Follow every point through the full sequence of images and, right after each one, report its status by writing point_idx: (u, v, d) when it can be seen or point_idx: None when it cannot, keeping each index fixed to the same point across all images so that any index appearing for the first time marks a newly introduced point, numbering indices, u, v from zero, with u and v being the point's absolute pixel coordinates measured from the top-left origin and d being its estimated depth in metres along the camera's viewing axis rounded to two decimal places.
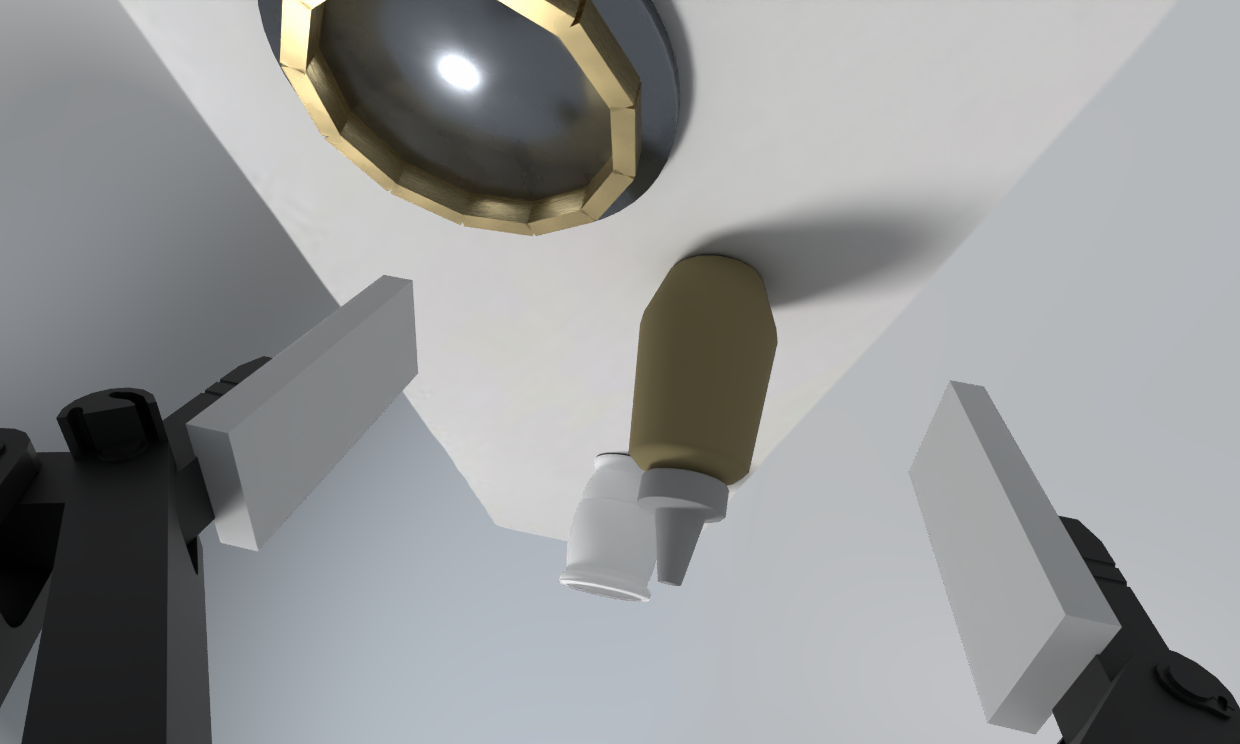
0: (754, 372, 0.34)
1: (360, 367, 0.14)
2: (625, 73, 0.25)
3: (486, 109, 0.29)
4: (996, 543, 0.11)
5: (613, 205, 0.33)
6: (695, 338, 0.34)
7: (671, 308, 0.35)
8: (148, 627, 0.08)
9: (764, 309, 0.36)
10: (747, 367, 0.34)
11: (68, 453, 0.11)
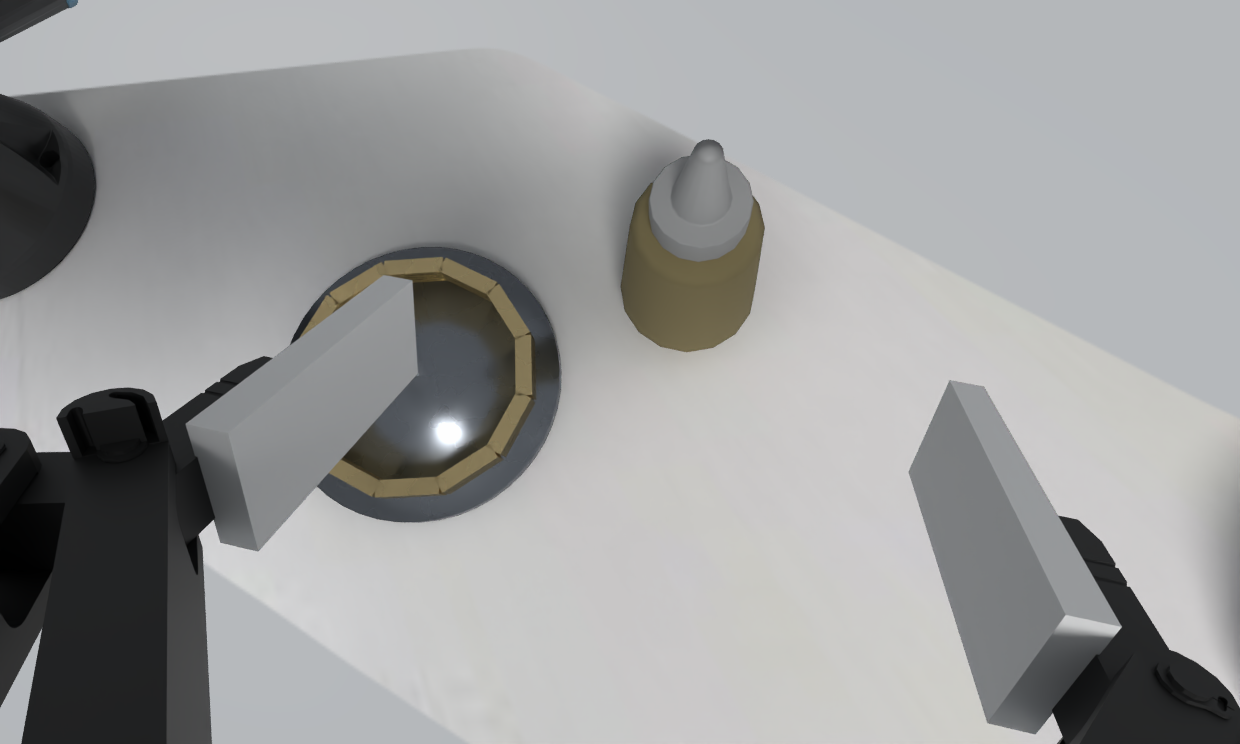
0: None
1: (360, 367, 0.14)
2: None
3: (429, 375, 0.41)
4: (996, 543, 0.11)
5: (545, 335, 0.41)
6: None
7: (623, 292, 0.38)
8: (147, 626, 0.08)
9: None
10: None
11: (68, 453, 0.11)
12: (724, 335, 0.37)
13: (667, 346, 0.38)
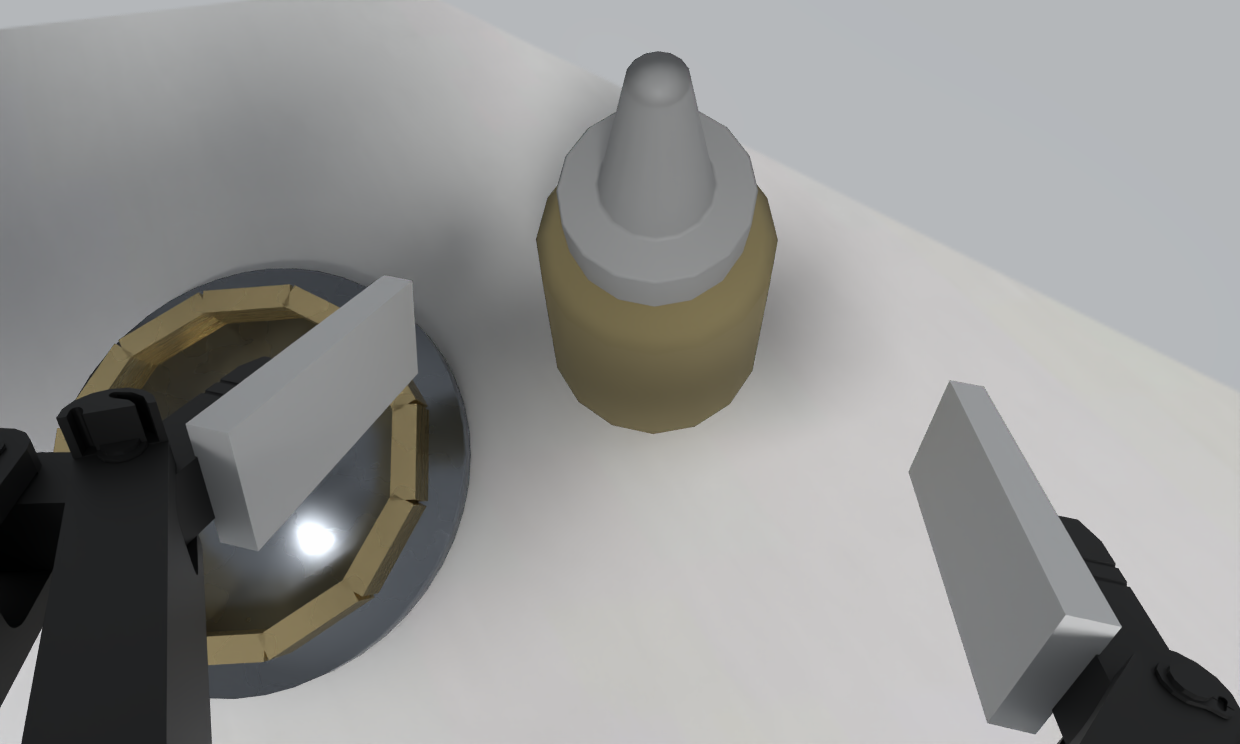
0: None
1: (360, 367, 0.14)
2: None
3: None
4: (996, 543, 0.11)
5: (445, 400, 0.28)
6: None
7: None
8: (148, 626, 0.08)
9: None
10: None
11: (68, 453, 0.11)
12: (711, 409, 0.23)
13: (622, 425, 0.24)
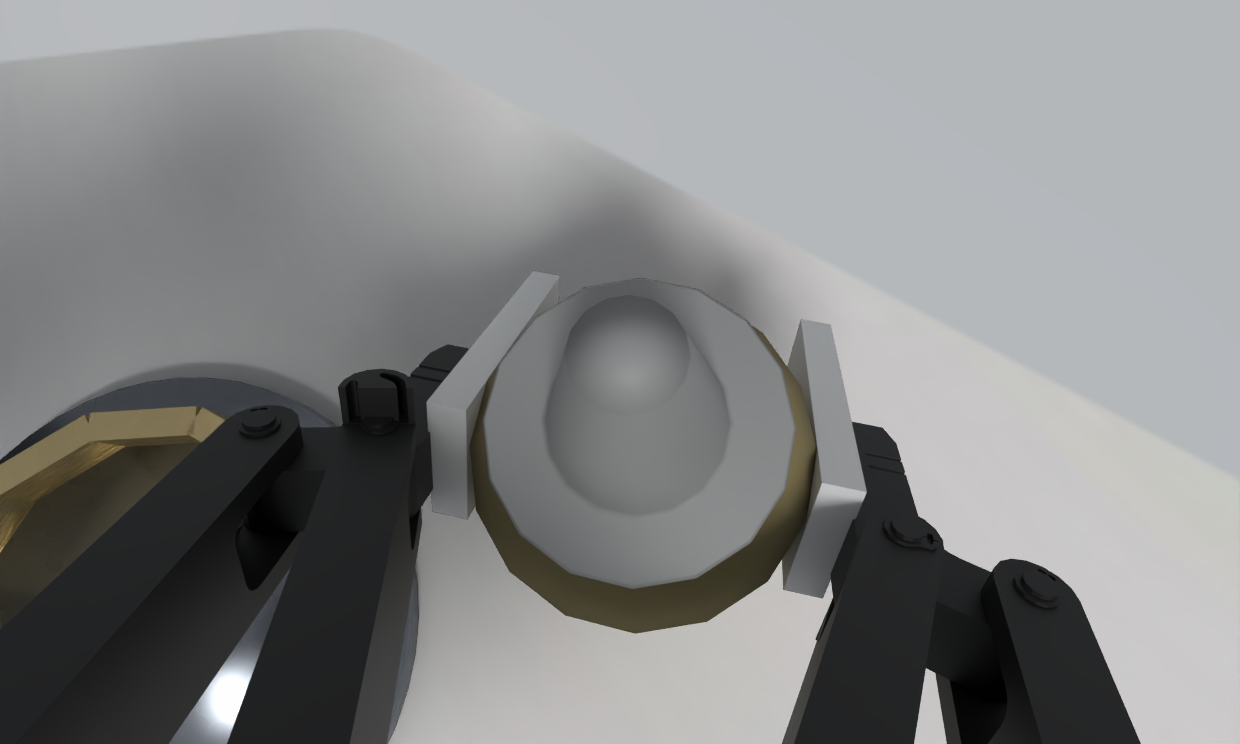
0: None
1: None
2: None
3: None
4: None
5: None
6: None
7: None
8: (364, 598, 0.08)
9: None
10: None
11: (319, 428, 0.12)
12: None
13: None
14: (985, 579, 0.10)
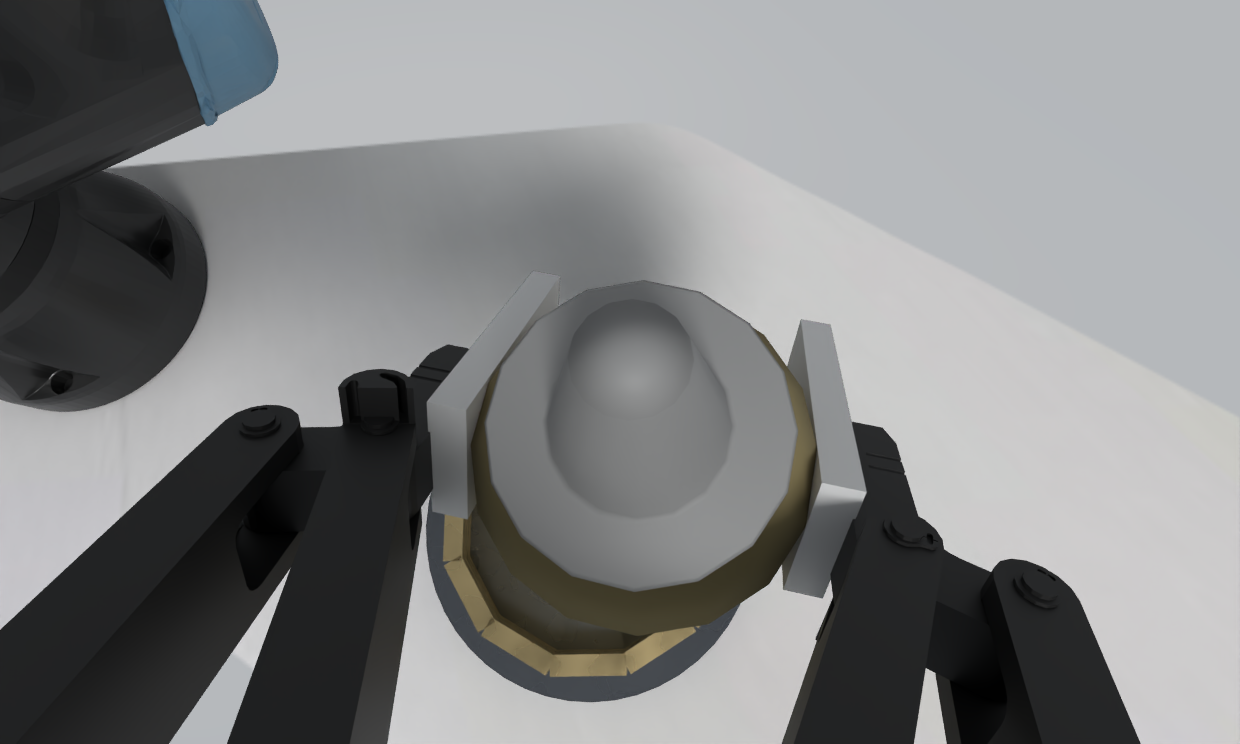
0: None
1: None
2: None
3: None
4: None
5: None
6: None
7: None
8: (364, 598, 0.08)
9: None
10: None
11: (320, 428, 0.12)
12: None
13: None
14: (985, 579, 0.10)
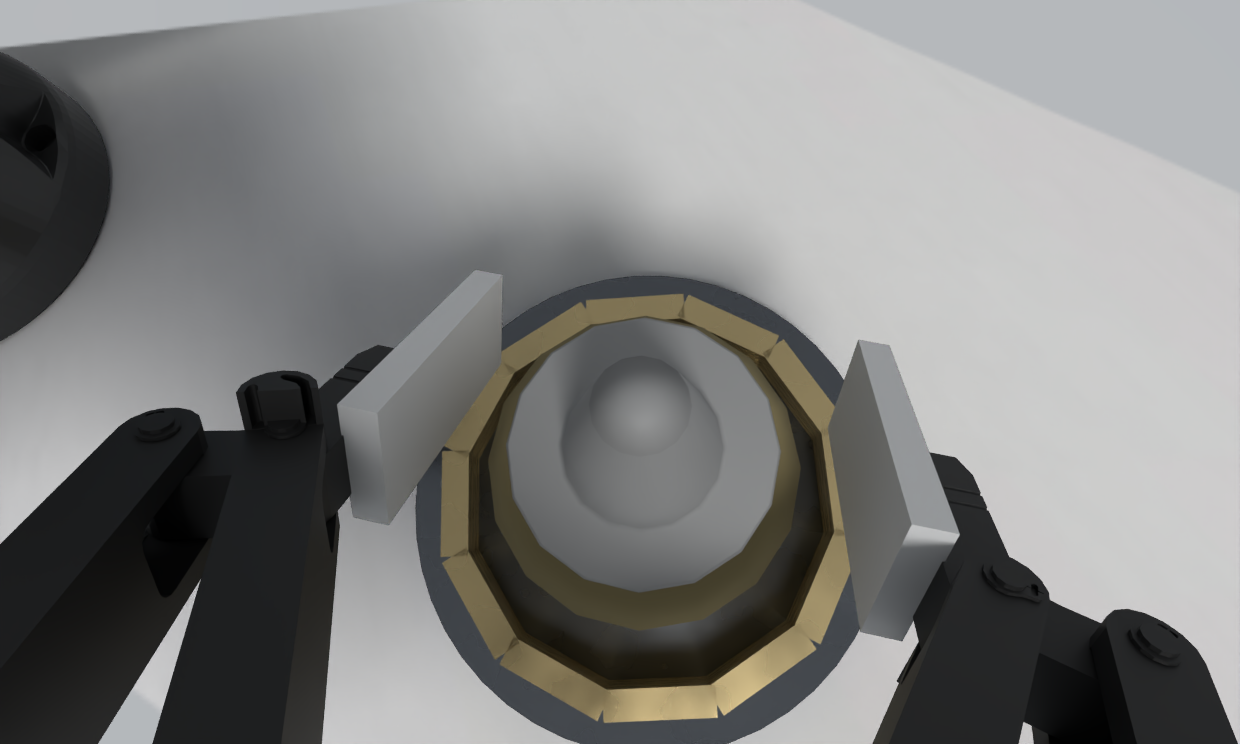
0: None
1: (464, 356, 0.15)
2: None
3: None
4: (876, 475, 0.13)
5: None
6: None
7: None
8: (282, 602, 0.08)
9: None
10: None
11: (228, 431, 0.11)
12: None
13: None
14: (1095, 628, 0.10)
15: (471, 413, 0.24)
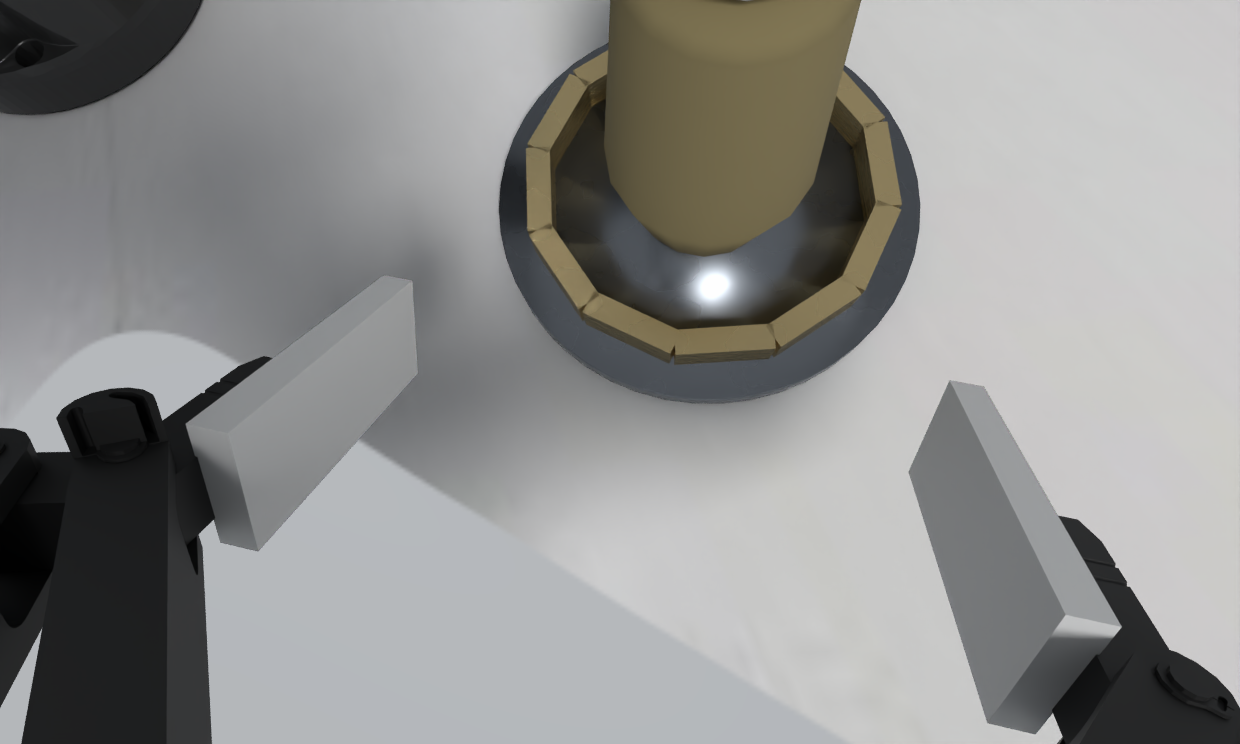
0: None
1: (360, 367, 0.14)
2: None
3: None
4: (996, 543, 0.11)
5: (889, 134, 0.28)
6: None
7: (607, 151, 0.24)
8: (147, 627, 0.08)
9: None
10: None
11: (68, 452, 0.11)
12: (774, 212, 0.22)
13: (679, 235, 0.23)
14: None
15: (551, 118, 0.27)
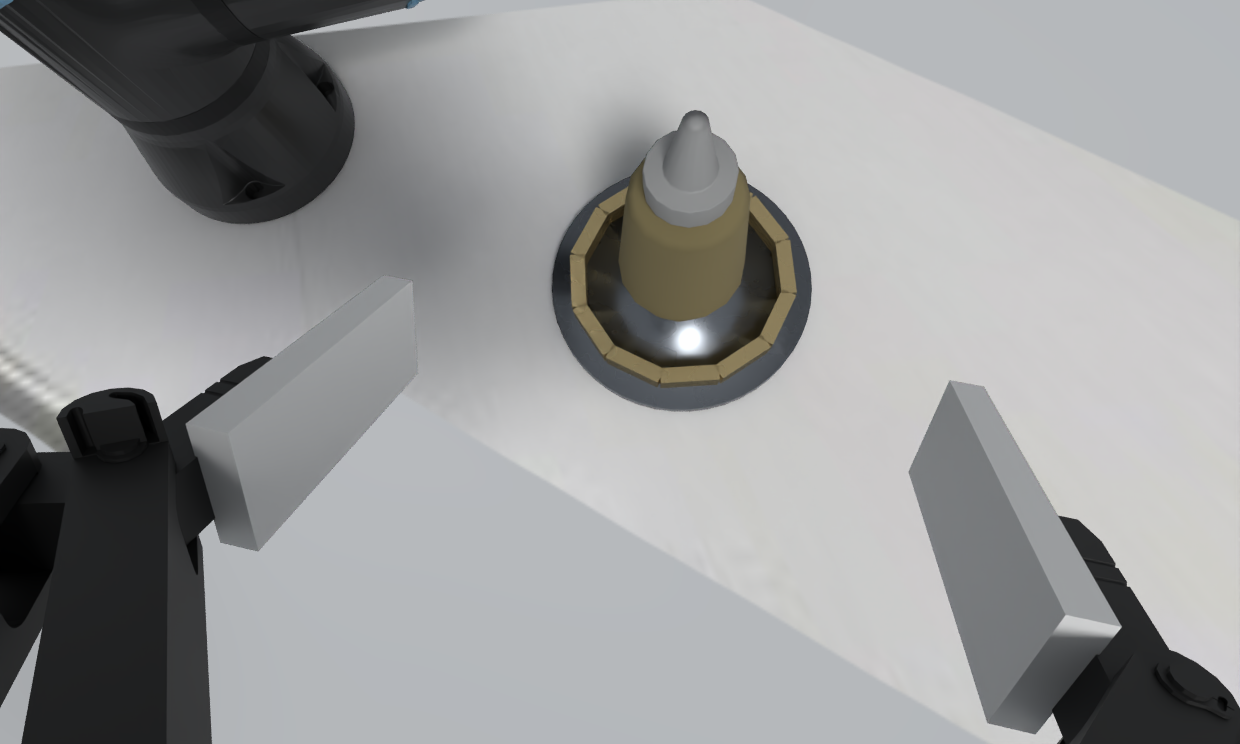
0: None
1: (360, 367, 0.14)
2: None
3: None
4: (996, 543, 0.11)
5: (794, 243, 0.45)
6: None
7: (620, 265, 0.41)
8: (148, 626, 0.08)
9: None
10: None
11: (68, 453, 0.11)
12: (716, 304, 0.40)
13: (662, 315, 0.40)
14: None
15: (584, 235, 0.45)
